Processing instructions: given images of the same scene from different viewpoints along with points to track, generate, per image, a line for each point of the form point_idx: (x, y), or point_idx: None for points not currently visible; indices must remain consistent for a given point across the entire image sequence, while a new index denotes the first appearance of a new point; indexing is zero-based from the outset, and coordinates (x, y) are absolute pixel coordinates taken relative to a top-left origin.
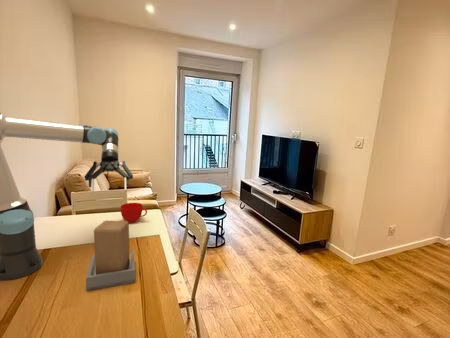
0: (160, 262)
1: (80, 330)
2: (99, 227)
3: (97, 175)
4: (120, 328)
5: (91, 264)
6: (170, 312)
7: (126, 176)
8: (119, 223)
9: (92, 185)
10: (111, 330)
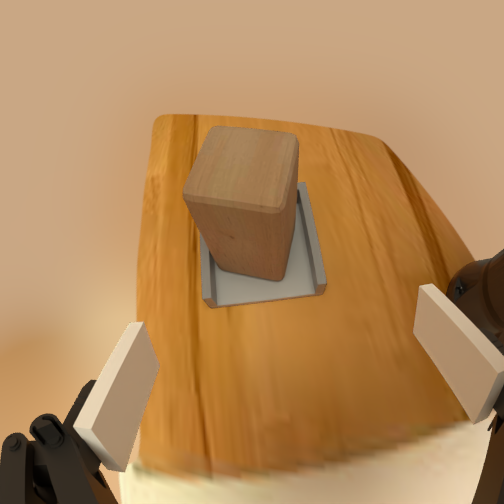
0: (143, 285)
1: (281, 124)
2: (281, 140)
3: (485, 481)
4: (228, 121)
5: (312, 236)
6: (159, 139)
7: (60, 422)
8: (214, 164)
9: (453, 316)
10: (239, 120)
